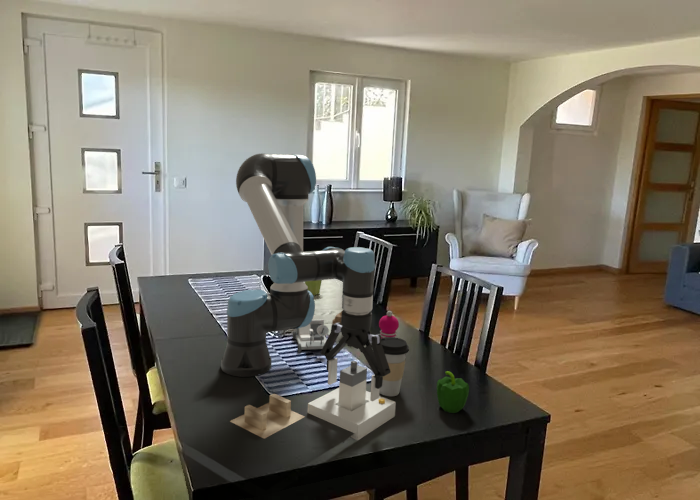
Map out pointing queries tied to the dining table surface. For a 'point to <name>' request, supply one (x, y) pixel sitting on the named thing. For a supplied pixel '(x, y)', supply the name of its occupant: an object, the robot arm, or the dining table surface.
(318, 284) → the plant pot
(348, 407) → the plug
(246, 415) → the plate with raised blocks
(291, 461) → the dining table surface
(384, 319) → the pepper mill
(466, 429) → the dining table surface
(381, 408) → the port block
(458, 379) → the bell pepper
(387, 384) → the coffee cup
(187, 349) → the dining table surface
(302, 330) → the grey mechanical device
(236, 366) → the robot arm
